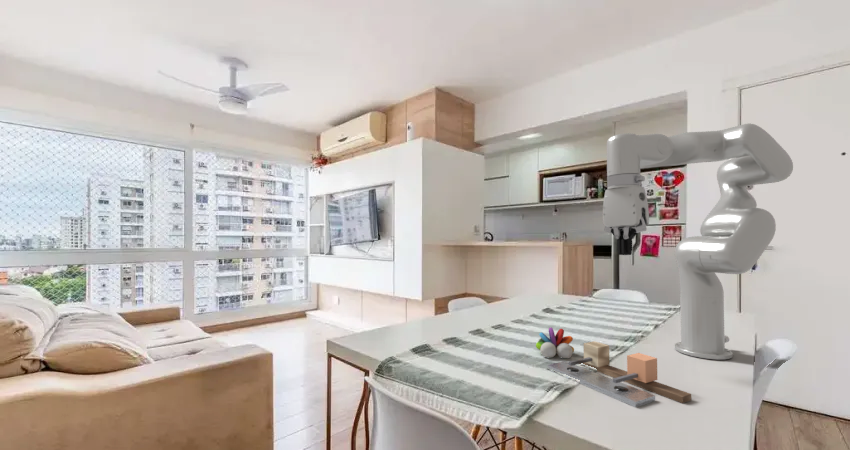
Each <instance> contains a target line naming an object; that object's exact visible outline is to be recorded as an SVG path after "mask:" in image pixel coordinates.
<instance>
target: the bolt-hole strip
mask: <svg viewBox="0 0 850 450" xmlns="http://www.w3.org/2000/svg"><path fill="white" fill-rule="evenodd" d="M568 362H569V361H565V360H563V361H560V362H559V361H558V362H555V363H549V364H546V368H547V367H548V368H550V369H553V370H555V371H558V372H560V373H563V374H566V375H568V376H570V377H573V378H575V379H578V380H580V383H579V384H580V385H582V386H585V387H588V388H589V389H592V390H595V391H597V392H598V393H600V394H601V393H602V394H604V395H606V396H609V397H611V398H613V399H616V400H617V401H620V402H623V403H624V404H627V405H629V406H631V407H634V408H638V407H642V406H645V405H647V404H650V403H653V402H656V395H655V394H652V393H649V392H647V391H644V390H642V389H639V388H638V387H635V386H633V385H630V384H626V383H623V382H619V383H614V382H613V378H612V377H608V376H605V375H604V374H603V375H602V374H600V373H599V372H596V371H595V372H594V371H593V370H591V369H590V370H589V369H588V368H584V367H583V366H582V367H581V366H579V365H578V364H577V365H572V366H570V365H568Z"/></svg>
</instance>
